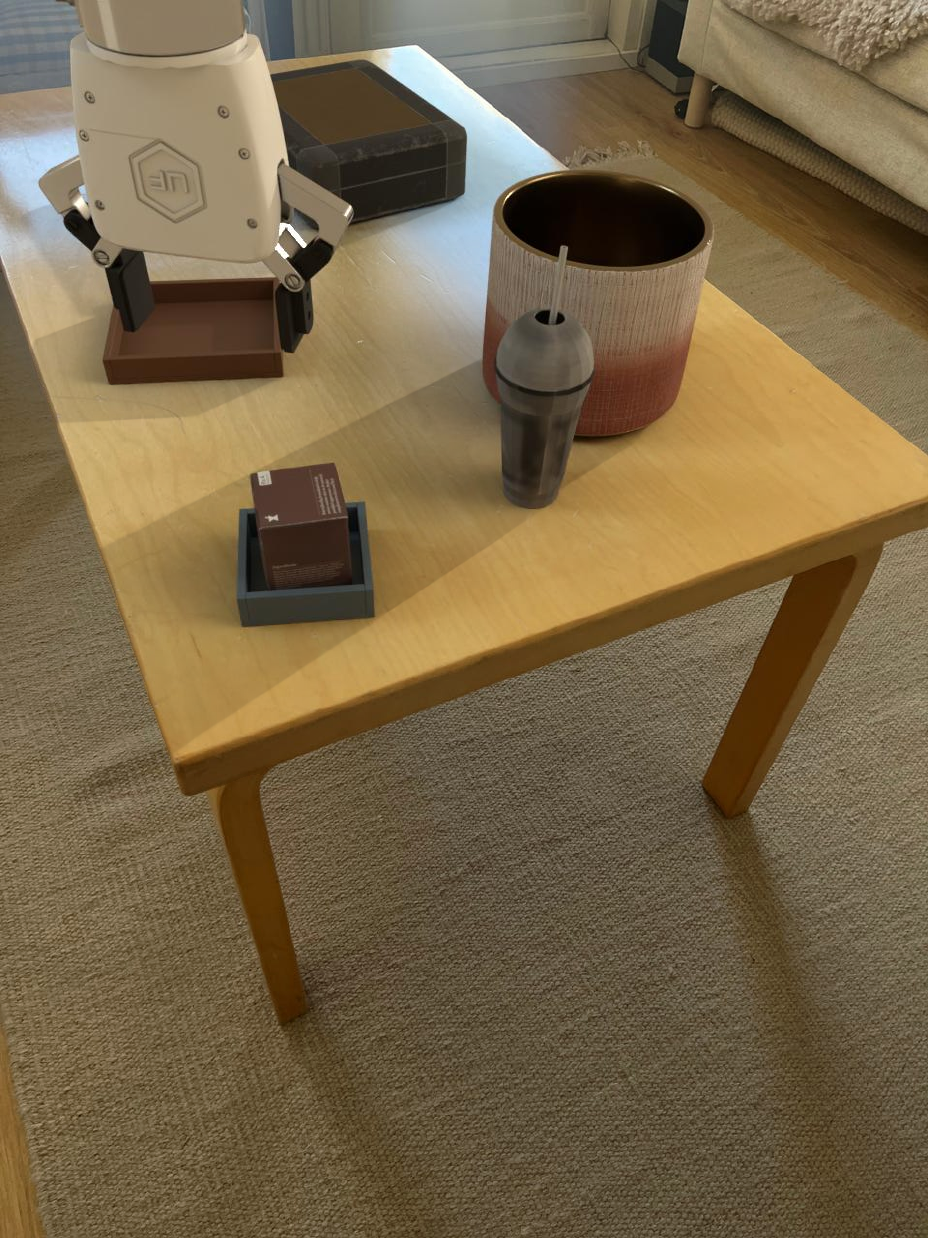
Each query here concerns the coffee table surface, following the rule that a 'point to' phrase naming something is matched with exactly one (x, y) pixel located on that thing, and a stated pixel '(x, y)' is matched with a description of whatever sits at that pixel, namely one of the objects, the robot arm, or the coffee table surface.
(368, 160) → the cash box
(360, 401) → the coffee table surface
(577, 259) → the planter
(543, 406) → the beverage cup
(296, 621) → the bin
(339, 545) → the box
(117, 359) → the tray
